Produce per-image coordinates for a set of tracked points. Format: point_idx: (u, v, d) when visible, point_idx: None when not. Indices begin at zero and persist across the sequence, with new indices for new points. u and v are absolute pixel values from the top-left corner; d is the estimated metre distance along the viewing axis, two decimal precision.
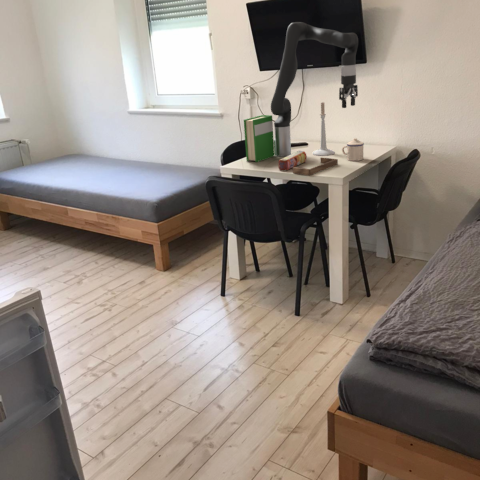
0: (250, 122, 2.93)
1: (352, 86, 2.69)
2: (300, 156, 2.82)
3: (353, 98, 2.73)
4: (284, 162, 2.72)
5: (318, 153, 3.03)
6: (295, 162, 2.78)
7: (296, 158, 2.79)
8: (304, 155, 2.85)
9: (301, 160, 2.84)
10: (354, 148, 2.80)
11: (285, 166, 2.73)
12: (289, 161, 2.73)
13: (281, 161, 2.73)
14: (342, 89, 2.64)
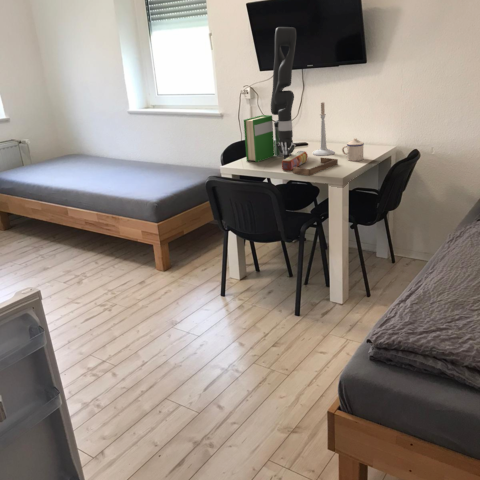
0: (250, 122, 2.93)
1: None
2: (302, 156, 2.81)
3: None
4: (288, 162, 2.71)
5: (318, 153, 3.03)
6: (298, 162, 2.78)
7: (298, 158, 2.78)
8: (305, 155, 2.85)
9: (303, 160, 2.83)
10: (354, 148, 2.80)
11: (289, 166, 2.72)
12: (292, 161, 2.72)
13: (284, 161, 2.72)
14: (295, 146, 2.78)
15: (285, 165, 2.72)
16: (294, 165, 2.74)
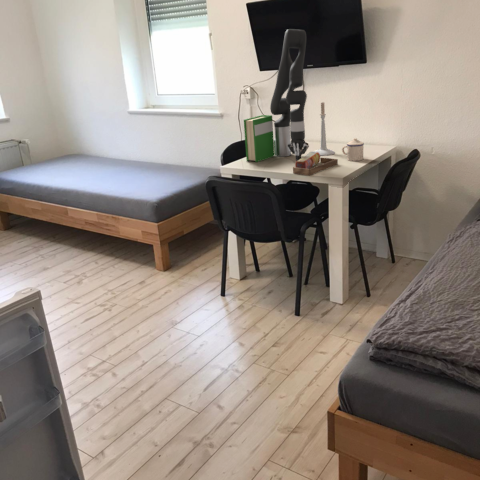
0: (250, 122, 2.93)
1: None
2: (315, 157, 2.77)
3: None
4: (302, 163, 2.67)
5: None
6: (311, 163, 2.73)
7: (312, 159, 2.74)
8: (318, 156, 2.81)
9: (316, 161, 2.79)
10: (354, 148, 2.80)
11: (303, 167, 2.67)
12: (306, 162, 2.67)
13: (298, 162, 2.67)
14: (307, 147, 2.72)
15: (299, 166, 2.68)
16: (308, 166, 2.70)
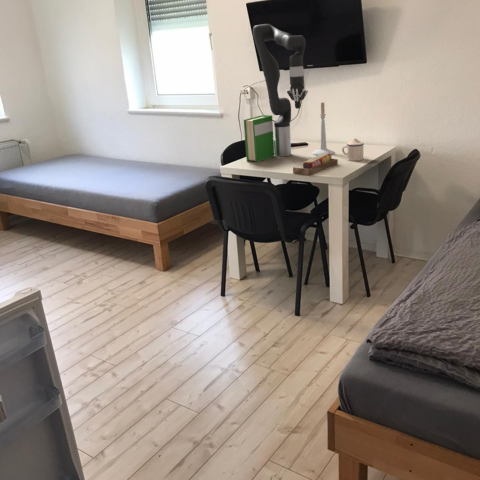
0: (250, 122, 2.93)
1: None
2: (325, 158, 2.73)
3: None
4: (309, 164, 2.63)
5: (318, 153, 3.03)
6: (320, 164, 2.69)
7: (321, 160, 2.69)
8: (329, 157, 2.76)
9: (326, 162, 2.74)
10: (354, 148, 2.80)
11: None
12: (314, 163, 2.64)
13: (306, 163, 2.64)
14: (306, 92, 2.78)
15: (306, 167, 2.65)
16: None
